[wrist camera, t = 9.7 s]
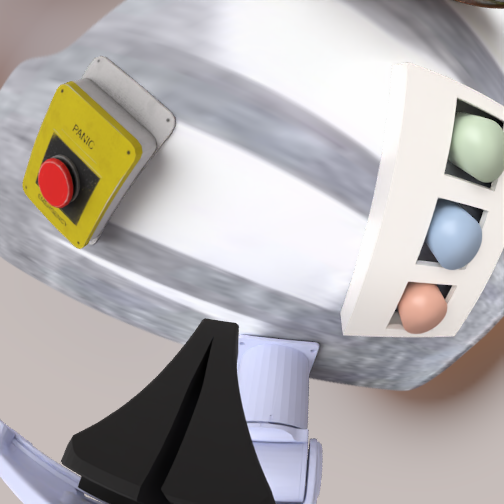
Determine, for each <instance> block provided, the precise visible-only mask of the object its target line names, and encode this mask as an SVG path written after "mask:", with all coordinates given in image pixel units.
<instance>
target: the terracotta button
mask: <svg viewBox="0 0 504 504" xmlns="http://www.w3.org/2000/svg"><path fill="white" fill-rule="evenodd" d="M397 310H398V312H399V315H400V318H401V321H402V324H403V327H404V329H405V330H406V331H407V332H408V333H411V334H421V333H424V332H427V331H429V330H431V329H433V328H434V327H436V326H437V325H438V324H439V323H440V322H441V321H442V320H443V319H444V317H445V315H446V313H447V303H446V301H445V299H444V298H443V296H442V294H441V292H440V290H439V288H438V286H437V285H436V284H431V283H419V282H408V283H407V285H406V288H405V290H404V292H403V294H402V296H401V299H400V301H399V303H398V305H397Z"/></svg>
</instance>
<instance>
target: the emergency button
mask: <svg viewBox="0 0 504 504" xmlns="http://www.w3.org/2000/svg"><path fill="white" fill-rule="evenodd" d="M174 127H175V117H174V115H173V114H172V112H171V111H170V110H169V109H167V108H166V107H165V106H164V105H163V104H162V103H161V102H159V101H158V100H157V99H156V98H155V97H154V96H152V95H151V94H150V93H149V92H148V91H147V90H145V89H144V88H143V87H142V86H141V85H140V84H138V83H137V82H136V81H135V80H134V79H132V78H131V77H130V76H129V75H128V74H126V73H125V72H124V71H123V70H121V69H120V68H119V67H118V66H117V65H115V64H114V63H113V62H112V61H110V60H109V59H108V58H107V57H104V56H99V57H97V58H95V59H94V60H93V61H92V62H91V63H90V65H89V66H88V68H87V69H86V71H85V73H84V74H83V76H82V78H81V79H80V80H76V81H70V82H67V83H64V84H62V85H60V86H59V87H58V89H57V90H56V93H55V95H54V97H53V99H52V101H51V103H50V105H49V108H48V110H47V112H46V115H45V117H44V119H43V122H42V124H41V127H40V130H39V132H38V135H37V138H36V140H35V143H34V146H33V149H32V152H31V155H30V158H29V162H28V165H27V168H26V172H25V176H24V179H23V190H24V192H25V194H26V195H27V196H28V198H29V199H30V200H31V201H32V202H33V203H34V205H35V206H36V207H37V208H38V209H39V210H40V211H41V212H42V214H43V215H44V216H45V217H46V218H47V219H48V220H49V221H50V222H51V223H52V224H53V225H54V226H55V228H56V229H57V230H58V231H59V232H60V233H61V234H62V235H63V236H64V237H65V238H66V239H67V240H68V241H69V242H70V243H71V244H72V245H73V246H75V247H76V248H78V249H81V248H83V247H84V246H86V245H87V244H89V245H92V244H94V243H95V242H96V241H97V240H98V238H99V237H100V235H101V233H102V231H103V230H104V228H105V226H106V225H107V223H108V221H109V220H110V218H111V217H112V215H113V213H114V212H115V210H116V209H117V207H118V205H119V204H120V202H121V201H122V199H123V198H124V196H125V195H126V193H127V192H128V190H129V189H130V187H131V186H132V185H133V183H134V182H135V180H136V179H137V177H138V176H139V175H140V173H141V172H142V170H143V169H144V168H145V166H146V165H147V164H148V162H149V161H150V160H151V158H152V157H153V156H154V154H155V153H156V152H157V150H158V149H159V148H160V147H161V145H162V144H163V143H164V142H165V140H166V139H167V138H168V137H169V135H170V134H171V133H172V131H173V129H174Z"/></svg>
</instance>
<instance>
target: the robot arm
mask: <svg viewBox="0 0 504 504" xmlns="http://www.w3.org/2000/svg"><path fill="white" fill-rule="evenodd" d="M318 350H319V344H318V343H316V342H306V341H294V340H284V339H274V338H265V337H257V336H249V335H239V325H237V324H236V323H232V322H224V321H218V320H211V319H203V320H202V322H201V323H200V325H199V326H198V327H197V329H196V330H195V332H194V333H193V335H192V336H191V337H190V339H189V340H188V341H187V342H186V344H185V345H184V346H183V348H182V349H181V350H180V351H179V352H178V354H177V355H176V356H175V357H174V358H173V360H172V361H171V362H170V363H169V364H168V365H167V366H166V367H165V368H164V369H163V371H162V372H161V373H160V374H159V375H158V376H157V377H156V378H155V379H154V380H153V381H152V382H151V383H150V384H149V385H147V386H146V387H145V388H144V389H143V390H142V391H141V392H140V393H139V394H137V395H136V396H135V397H134V398H132V399H131V400H130V401H129V402H127V403H126V404H125V405H123V406H122V407H121V408H119V409H118V410H116V411H115V412H113V413H112V414H110V415H109V416H107V417H106V418H104V419H103V420H101V421H100V422H98V423H96V424H94V425H92V426H91V427H89V428H87V429H85V430H83V431H81V432H79V433H77V434H75V435H73V437H72V439H71V440H70V442H69V444H68V445H67V448H66V450H65V453H64V455H63V458H62V460H61V462H62V464H63V465H64V466H66V467H68V468H69V469H71V470H72V471H74V472H76V473H77V474H79V475H81V477H80V476H79V475H77V474H75V473H73V472H72V471H70V470H68V469H67V468H65V467H63V466H62V465H60V464H59V463H57V462H56V461H54V460H52V459H51V458H49V457H48V456H46V455H45V454H44V453H42V452H41V451H39V450H38V449H37V448H35V447H34V446H33V445H32V443H30V442H29V441H28V440H26V439H25V438H24V437H22V436H21V435H20V434H19V433H17V432H16V431H14V430H13V429H11V428H10V427H9V426H7V425H6V424H5V423H4V422H2V421H1V420H0V477H1V478H2V479H3V481H4V482H5V483H6V484H7V485H8V487H9V488H10V489H11V490H12V491H13V492H14V493H15V495H16V496H17V497H18V498H19V499H20V500H21V501H22V502H23V503H24V504H316V502H317V498H318V496H319V492H320V486H321V477H322V445H321V444H320V443H319V442H317V439H315V438H314V439H310V444H309V449H308V431H309V430H308V429H307V427H308V396H309V373H310V371H311V368H312V366H313V363H314V360H315V358H316V355H317V352H318ZM307 453H308V460H307ZM305 483H306V485H305ZM84 493H85V494H87V495H89V496H90V497H92V498H95V499H96V500H98V501H96V500H93V499H91V498H88V497H85V496H84ZM99 501H100V502H99ZM101 502H102V503H101Z"/></svg>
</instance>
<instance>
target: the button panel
mask: <svg viewBox="0 0 504 504" xmlns="http://www.w3.org/2000/svg"><path fill="white" fill-rule="evenodd" d="M457 99H459V100H461V101H463V102H466V103H468V104H470V105H472V106H474V107H476V108H478V109H480V110H482V111H484V112H486V113H488V114H490V115H492V116H493V117H495V118H497V119H499V120H501V121H502V122H504V106H502V105H501V104H499V103H497V102H496V101H494V100H492V99H490V98H489V97H487V96H485V95H483V94H481V93H479V92H477V91H476V90H474V89H472V88H470V87H468V86H466V85H463V84H461V83H459V82H457V81H455V80H453V79H450V78H448V77H446V76H443V75H441V74H439V73H436V72H434V71H431V70H428V69H426V68H423V67H420V66H418V65H415V64H412V63H409V62H406V63H402V64H397V65H392V73H391V86H390V96H389V106H388V114H387V122H386V129H385V136H384V143H383V149H382V155H381V161H380V166H379V171H378V177H377V182H376V186H375V191H374V196H373V200H372V205H371V209H370V213H369V218H368V222H367V226H366V230H365V233H364V237H363V241H362V245H361V248H360V252H359V255H358V259H357V262H356V266H355V269H354V272H353V276H352V279H351V282H350V285H349V288H348V291H347V294H346V298H345V300H344V303H343V306H342V309H341V312H340V315H341V322H342V330H343V335H348V336H372V337H447V336H455V335H456V333H457V332H458V330H459V329H460V327H461V326H462V324H463V323H464V321H465V320H466V318H467V316H468V315H469V313H470V312H471V310H472V308H473V307H474V305H475V303H476V302H477V300H478V298H479V296H480V295H481V293H482V291H483V289H484V287H485V285H486V284H487V282H488V280H489V278H490V276H491V274H492V272H493V270H494V268H495V266H496V264H497V261H498V259H499V257H500V255H501V253H502V250H503V248H504V171H503V172H502V174H501V175H500V176H499V177H498V178H497V179H496V180H494V181H492V184H491V188H488V187H485V186H482V185H479V184H477V183H474V182H471V181H468V180H465V179H461V178H458V177H455V176H452V175H449V174H445V173H444V172H445V168H446V163H447V159H448V154H449V149H450V143H451V138H452V132H453V125H454V118H455V111H456V102H457ZM503 131H504V124H503ZM438 197H439V198H443V199H447V200H451V201H455V202H458V203H462V204H466V205H469V206H473V207H476V208H480V209H483V210H484V211H483V214H482V217H481V220H480V222H479V225H480V227H481V229H482V242H481V246H480V248H479V251H478V252H477V254H476V256H475V257H474V258H473V259H472V260H471V261H470V262H469V263H468V264H467V265H465V266H464V267H462V268H459V269H456V270H448V269H445V268H444V267H442V266H441V265H440V263H437V262H429V261H421V260H417V259H418V256H419V253H420V251H421V248H422V245H423V243H424V240H425V237H426V234H427V231H428V228H429V225H430V222H431V219H432V216H433V213H434V209H435V206H436V203H437V199H438ZM408 282H419V283H431V284H443V285H452V287H451V289H450V291H449V293H448V295H447V297H446V299H445V301H446V303H447V313H446V315H445V317H444V319H443V320H442V321H441V322H440V323H439V324H438V325H437V326H436V327H434V328H433V329H431V330H429V331H427V332H424V333H421V334H411V333H408V332H407V331H406V330H405V329H404V327H403V324H402V321H401V318H400V315H399V312H394V311H395V309H396V307H397V305H398V303H399V301H400V299H401V296H402V294H403V292H404V290H405V288H406V285H407V283H408Z"/></svg>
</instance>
